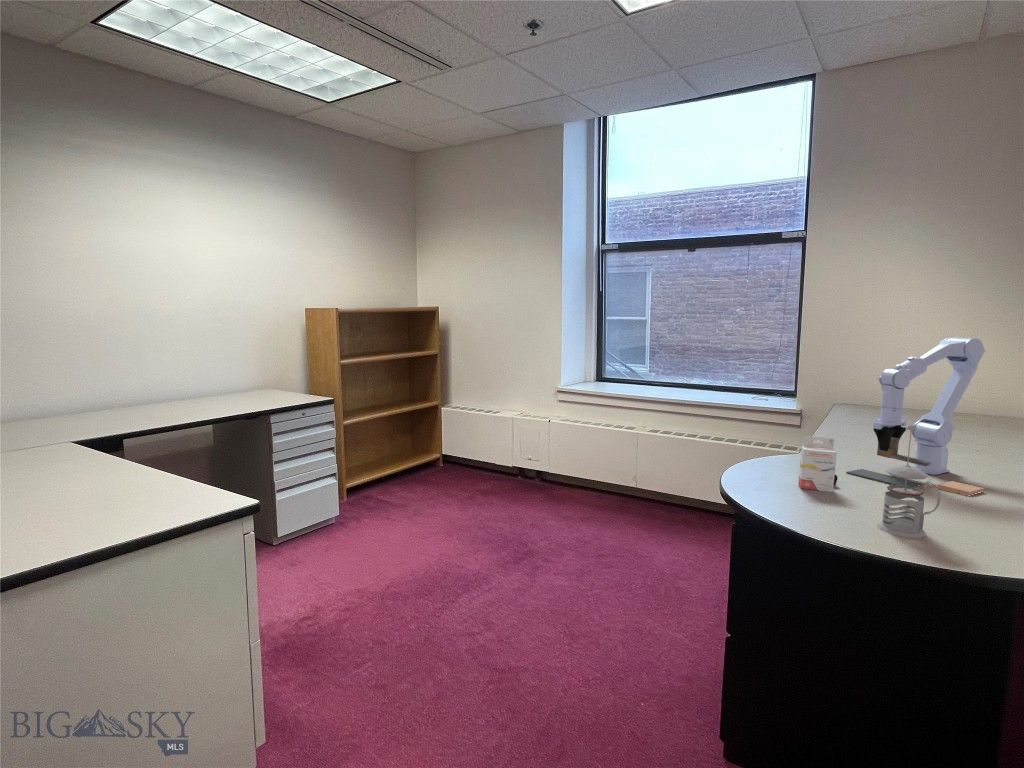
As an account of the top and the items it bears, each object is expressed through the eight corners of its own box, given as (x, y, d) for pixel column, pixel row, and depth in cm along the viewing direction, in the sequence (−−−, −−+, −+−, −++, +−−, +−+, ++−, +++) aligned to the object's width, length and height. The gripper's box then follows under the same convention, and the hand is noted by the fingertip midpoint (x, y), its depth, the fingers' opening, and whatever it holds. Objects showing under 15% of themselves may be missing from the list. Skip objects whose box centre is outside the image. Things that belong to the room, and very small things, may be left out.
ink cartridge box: (800, 489, 170) (804, 438, 168) (798, 484, 174) (801, 435, 173) (833, 492, 167) (838, 441, 165) (830, 487, 172) (834, 437, 170)
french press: (883, 519, 145) (893, 419, 142) (940, 532, 137) (952, 426, 134) (870, 529, 139) (880, 424, 136) (930, 543, 130) (941, 432, 127)
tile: (952, 481, 176) (983, 488, 169) (951, 486, 176) (983, 493, 169) (937, 484, 172) (969, 491, 165) (937, 490, 172) (968, 497, 165)
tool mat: (861, 470, 191) (861, 468, 191) (921, 485, 175) (921, 483, 175) (846, 473, 187) (846, 471, 187) (906, 488, 172) (906, 486, 172)
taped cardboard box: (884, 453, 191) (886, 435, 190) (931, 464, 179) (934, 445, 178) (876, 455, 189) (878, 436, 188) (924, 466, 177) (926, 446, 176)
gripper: (891, 403, 193) (887, 444, 195) (865, 406, 186) (861, 449, 188) (914, 407, 187) (910, 449, 189) (888, 410, 180) (884, 454, 182)
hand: (887, 449), depth 188 cm, fingers closed on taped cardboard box, 4 cm apart
